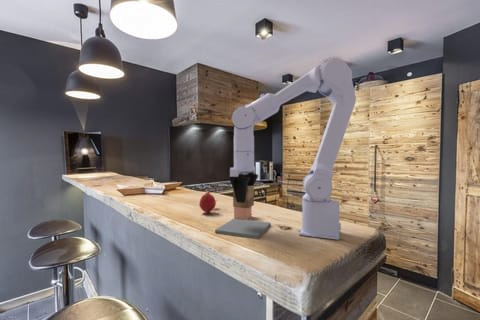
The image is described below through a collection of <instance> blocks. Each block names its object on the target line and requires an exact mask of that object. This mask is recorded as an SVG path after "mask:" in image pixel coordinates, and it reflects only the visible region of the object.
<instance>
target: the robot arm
mask: <svg viewBox="0 0 480 320" xmlns="http://www.w3.org/2000/svg"><path fill="white" fill-rule="evenodd" d="M317 91H318V92H319V94H321V95H323V96H324V97H326V98H327V99H328V101H329V102H330V103H331V105H332V110H331V111H330V115H329V118H328V120H327V124H326V126H325V129H324V132H323V135H322V138H321V140H320V144H319V146H318V150H317V153H316V156H315V159H314V161H313V164H312V165H311V168H310V170H309V172H308V173H307V174H306V176H304V178H303V179H302V187H303V190H304V191H305V194H303V196H302V198H301V199H302V201H301V206H302V209H301V211H302V214H301V215H302V218H301V219H302V220H301V221H302V226H301V228H300V231H299V233H298V235H299V236H306V237H313V238H322V239H329V240H331V239H332V240H340V231H341V229H342V228H341V227H342V225H341V224H342V223H341V222H340V201H339V200H333V199H332V197H331V194H332V193H333V183H332V181H333V177H334V165H335V163H336V160H337V157H338V154H339V151H340V148H341V146H342V143H343V140H344V137H345V134H346V132H347V128H348V124H349V122H350V120H351V116H352V114H353V111H354V107H355V105H356V103H357V102H356V100H357V95H356V92H355V87H354V83H353V71H352V69H351V68H350V67H349V66H348V64H347V63H346V62H345V61H344V60H343V59H340V58H337V57H336V58H331V59H328V60H326V61H325V62H324V63H323V64H318V65H317V66H314V68H312V69H311V70H309V71H308V72H306V73H305V74H303V75H302V76H300V77H299V78H297V79H296V80H294V81H293V82H291V83H289V84H288V85H287V86H285V87H284V88H282V89H281V90H279V91H278V92H276V93H270V92H267V93H261V94H260V95H259V98H258V99H256V100H254V101H253V102H251V103H247V104H244V106H238V107H237V108H236V109H235V110H234V111H233V113H232V114H231V122H232V124H233V125H234V127H233V167H230V168H229V175H228V180H229V182H230V184H231V186H232V190H233V189H234V193H235V197H236V201H237V202H241V203H244V202H245V198H246V190H247V186H254V187H255V184H256V182H257V180H258V177H259V174H256V169H257V168H256V166H255V136H254V127H255V125H256V124H259V123H260V122H263V121H265V120H266V119H268V118H270V117H271V116H273V115H275V114H277V113H278V112H279V110H280V107H281V105H283V104H284V103H287V102H289V101H290V100H292V99H295V98H296V97H298V96H301V95H302V94H304V93H306V92H309V93H317Z"/></svg>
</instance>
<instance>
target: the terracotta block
mask: <svg viewBox="0 0 480 320" xmlns="http://www.w3.org/2000/svg"><path fill="white" fill-rule="evenodd" d="M252 216H253V215H252V206H251V207H250V208H240V207H233V219H235V218H236V219H242V220H245V219H247V220H248V218H249V219H251V218H252Z"/></svg>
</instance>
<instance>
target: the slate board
mask: <svg viewBox="0 0 480 320" xmlns="http://www.w3.org/2000/svg"><path fill="white" fill-rule="evenodd" d="M271 224H272V223H271V222H269V221H268V222H267V221H260V220H259V221H258V220H252V219H251V220H250V219H249V220H248V219H247V220H245V219H235V218H232V219H230V220H229V221H228V222H226V223H224V224H223V225H220V226H219V227H217V228H216V229H215V230H214V232H215V233H214V234H220V235H228V236H236V237H242V238H249V239H257V240H258V239H260V238H261V236H263V234H264V233H265V232H266V231H267V230H268V229H269V228H270V227H271Z"/></svg>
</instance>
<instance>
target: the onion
mask: <svg viewBox="0 0 480 320" xmlns="http://www.w3.org/2000/svg"><path fill="white" fill-rule="evenodd" d="M216 204H217V202H216V198H215V197H214V196H213V195H212V194H211V192H210V191H209V190H207V191H206V192H205V193H204V194H203V195H202V196H201V198H200V200H199V207H200V210H202V211H203V212H205V213H206V214H210V213H211V212H212V211H213V210H214V209H215V208H216Z"/></svg>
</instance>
